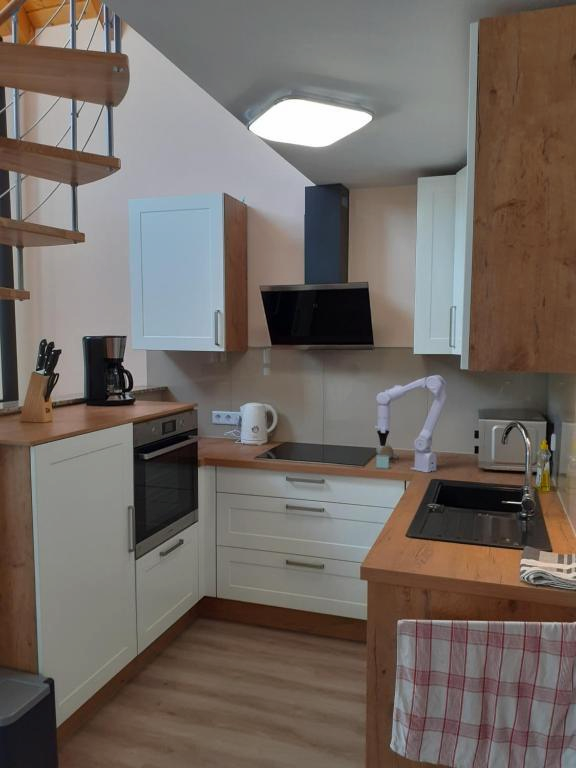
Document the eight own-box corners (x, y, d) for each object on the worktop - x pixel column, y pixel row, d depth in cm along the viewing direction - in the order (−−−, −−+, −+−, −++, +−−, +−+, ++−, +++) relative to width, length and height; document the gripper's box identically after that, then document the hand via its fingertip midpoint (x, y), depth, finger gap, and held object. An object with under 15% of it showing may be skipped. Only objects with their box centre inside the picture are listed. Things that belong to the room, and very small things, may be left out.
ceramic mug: (379, 460, 300) (380, 444, 299) (375, 456, 308) (376, 441, 307) (400, 460, 301) (401, 445, 300) (396, 457, 309) (396, 442, 308)
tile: (375, 467, 282) (376, 455, 281) (388, 468, 281) (389, 455, 280) (375, 468, 280) (376, 455, 279) (388, 469, 279) (389, 456, 278)
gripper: (375, 415, 293) (374, 442, 294) (374, 419, 278) (373, 448, 279) (390, 415, 292) (389, 443, 293) (390, 419, 277) (389, 448, 278)
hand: (382, 445), depth 286 cm, fingers closed
